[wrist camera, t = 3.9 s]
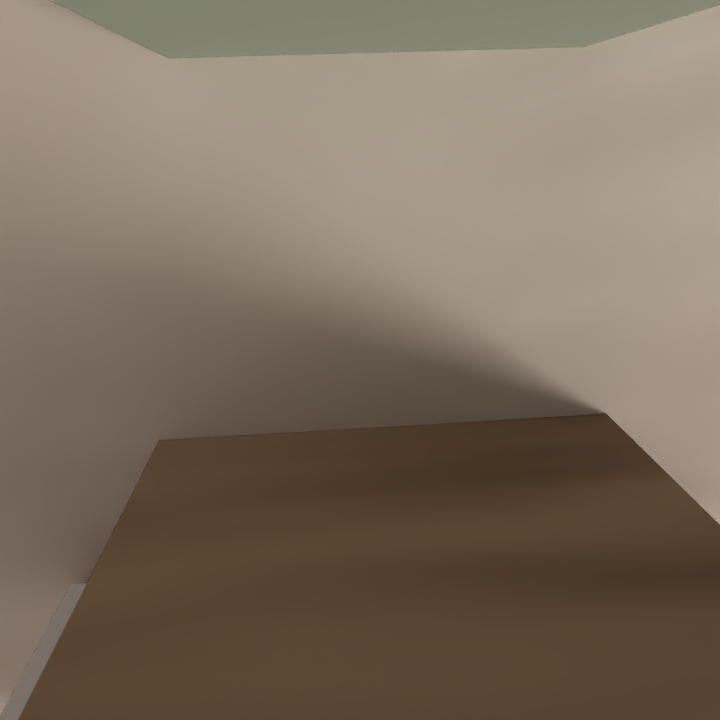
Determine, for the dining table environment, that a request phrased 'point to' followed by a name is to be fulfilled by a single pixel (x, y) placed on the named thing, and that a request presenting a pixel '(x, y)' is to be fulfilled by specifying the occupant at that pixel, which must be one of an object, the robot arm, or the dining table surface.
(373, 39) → the sage brick
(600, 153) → the dining table surface
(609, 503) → the walnut block
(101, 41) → the dining table surface
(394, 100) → the dining table surface
